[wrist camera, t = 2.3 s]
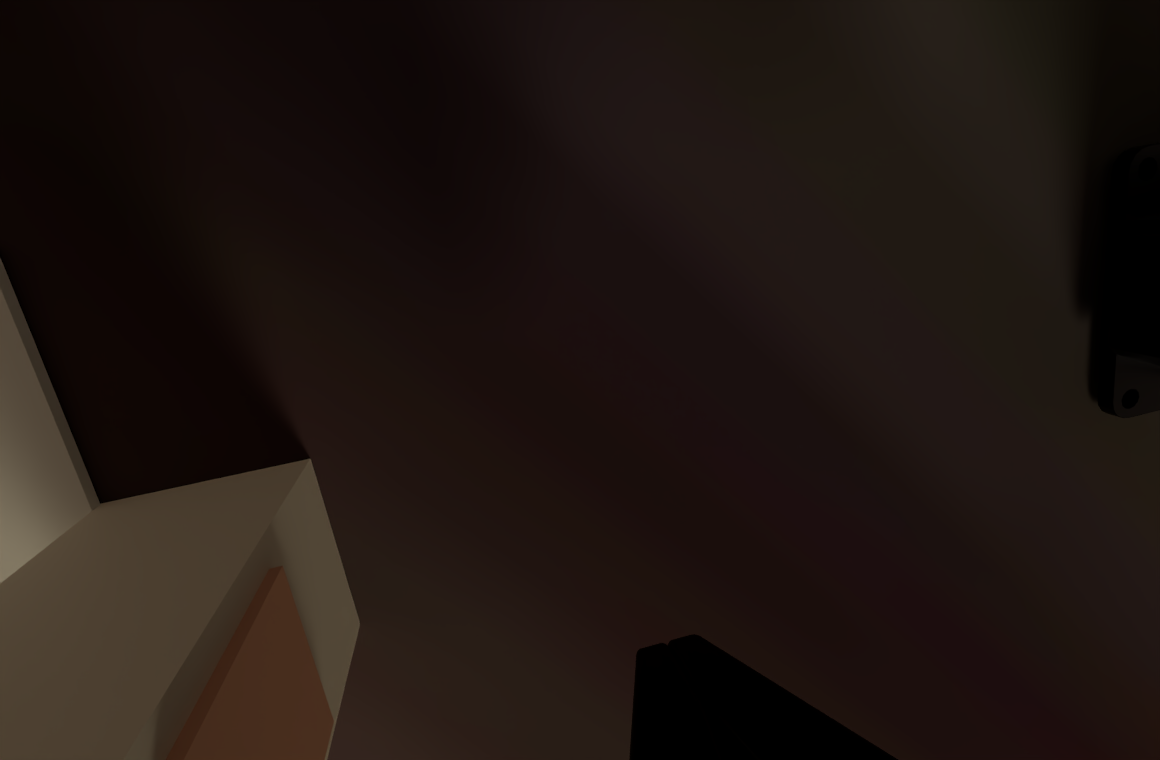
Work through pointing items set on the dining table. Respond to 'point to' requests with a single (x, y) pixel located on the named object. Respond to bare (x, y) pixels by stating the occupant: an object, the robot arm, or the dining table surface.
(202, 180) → the dining table surface
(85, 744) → the block
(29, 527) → the mat
